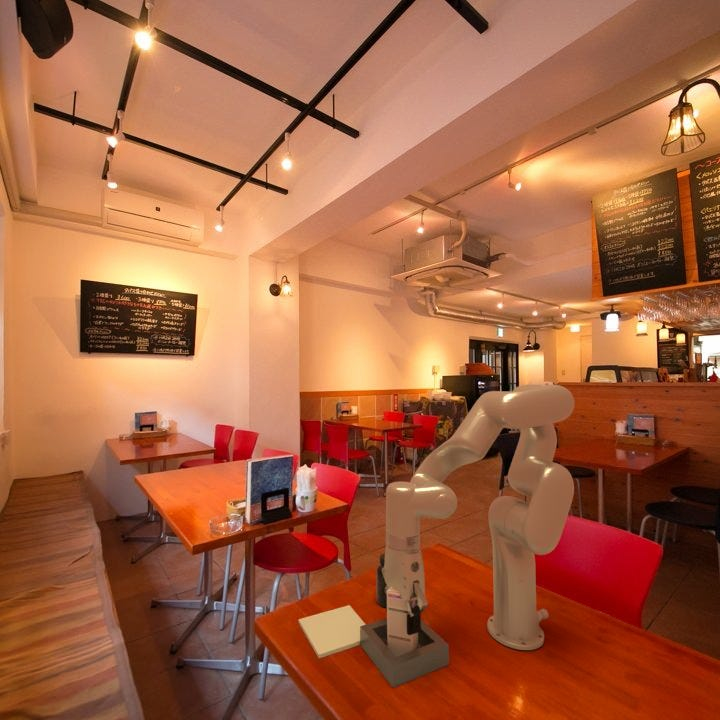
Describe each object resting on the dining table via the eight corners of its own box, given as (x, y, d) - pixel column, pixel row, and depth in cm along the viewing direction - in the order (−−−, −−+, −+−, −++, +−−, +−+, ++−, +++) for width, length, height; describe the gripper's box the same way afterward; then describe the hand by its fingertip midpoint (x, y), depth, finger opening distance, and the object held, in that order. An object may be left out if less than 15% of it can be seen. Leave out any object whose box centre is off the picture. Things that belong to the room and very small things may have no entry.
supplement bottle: (395, 593, 109) (395, 549, 110) (405, 606, 103) (405, 560, 104) (372, 597, 107) (372, 552, 108) (381, 610, 101) (381, 563, 101)
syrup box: (413, 666, 81) (413, 595, 82) (386, 659, 83) (386, 589, 84) (418, 649, 86) (418, 582, 87) (393, 642, 88) (393, 577, 89)
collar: (410, 627, 94) (410, 610, 94) (448, 664, 81) (448, 644, 82) (360, 644, 87) (360, 626, 88) (392, 687, 75) (392, 666, 75)
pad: (349, 608, 102) (349, 605, 102) (375, 639, 89) (375, 635, 89) (298, 622, 95) (298, 619, 95) (318, 658, 83) (318, 654, 83)
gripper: (440, 551, 80) (441, 640, 79) (395, 524, 95) (395, 598, 94) (411, 558, 77) (411, 651, 75) (369, 529, 92) (368, 605, 91)
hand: (402, 621), depth 85 cm, fingers closed on syrup box, 7 cm apart
